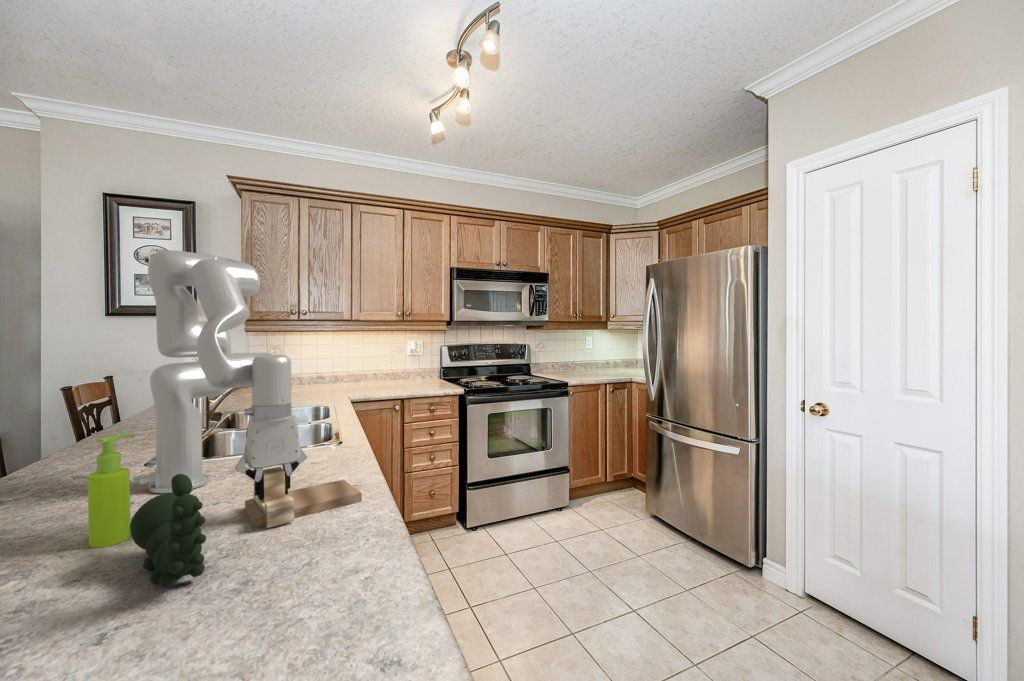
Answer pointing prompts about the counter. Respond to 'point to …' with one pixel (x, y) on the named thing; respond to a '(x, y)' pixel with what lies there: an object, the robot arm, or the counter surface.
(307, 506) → the walnut board
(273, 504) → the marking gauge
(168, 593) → the counter surface
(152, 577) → the toy figurine
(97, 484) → the soap dispenser
